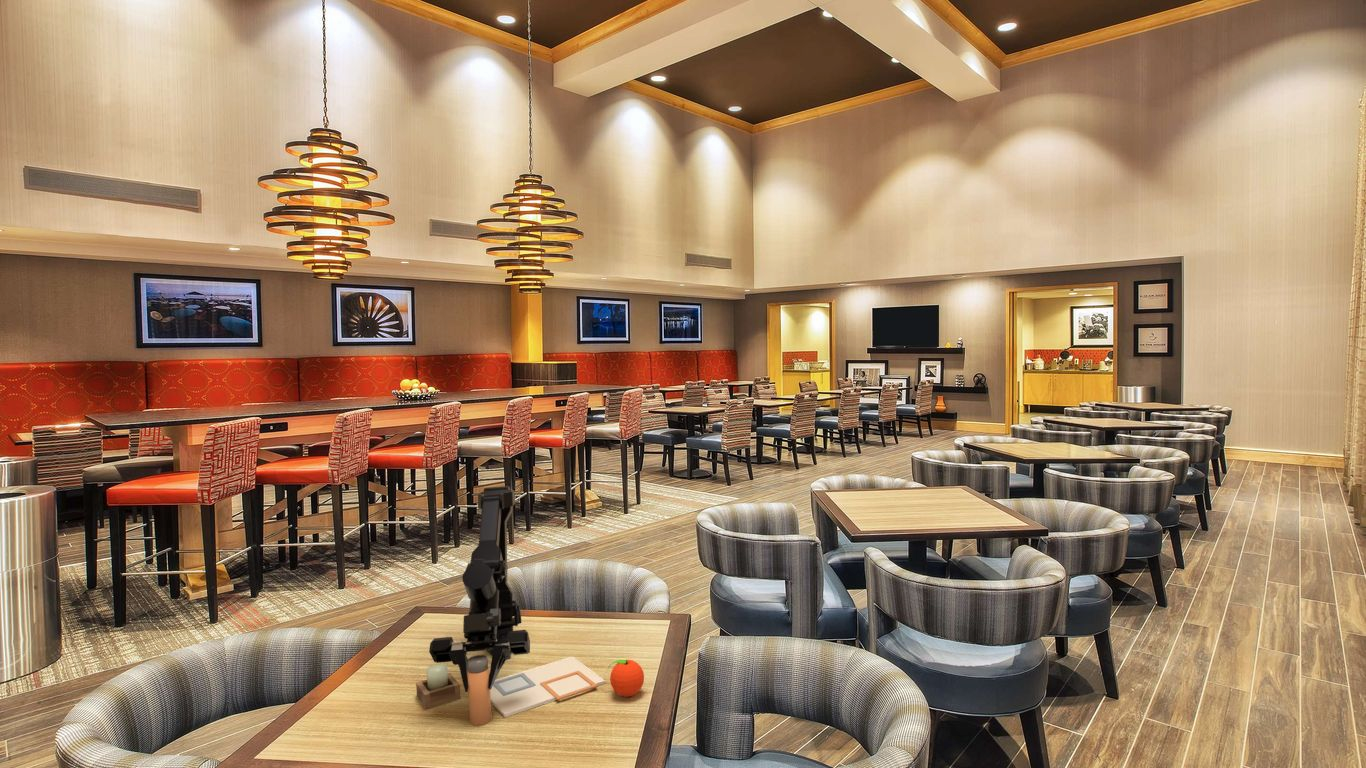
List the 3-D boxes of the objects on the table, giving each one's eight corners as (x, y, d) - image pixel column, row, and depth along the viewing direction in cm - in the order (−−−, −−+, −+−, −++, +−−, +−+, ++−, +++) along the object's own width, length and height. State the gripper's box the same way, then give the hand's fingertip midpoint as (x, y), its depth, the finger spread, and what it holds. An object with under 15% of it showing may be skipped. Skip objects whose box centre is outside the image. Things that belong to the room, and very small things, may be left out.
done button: (425, 686, 142) (424, 667, 142) (445, 680, 144) (444, 661, 144) (430, 693, 139) (429, 674, 139) (450, 687, 141) (449, 668, 141)
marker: (467, 719, 132) (464, 658, 132) (487, 712, 134) (484, 652, 134) (473, 728, 129) (470, 665, 129) (494, 721, 131) (491, 659, 131)
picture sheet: (478, 687, 145) (478, 683, 145) (572, 658, 158) (572, 654, 158) (507, 720, 131) (507, 716, 131) (608, 685, 144) (608, 681, 143)
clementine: (600, 699, 138) (598, 664, 138) (615, 684, 144) (614, 651, 144) (636, 705, 135) (634, 669, 135) (650, 689, 141) (648, 655, 141)
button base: (416, 696, 143) (416, 682, 143) (450, 686, 147) (450, 672, 147) (425, 709, 137) (424, 694, 137) (460, 698, 141) (459, 684, 141)
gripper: (428, 598, 134) (417, 679, 123) (525, 589, 136) (523, 668, 126) (439, 623, 142) (430, 701, 131) (531, 614, 144) (529, 690, 134)
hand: (477, 690), depth 130 cm, fingers closed on marker, 4 cm apart
